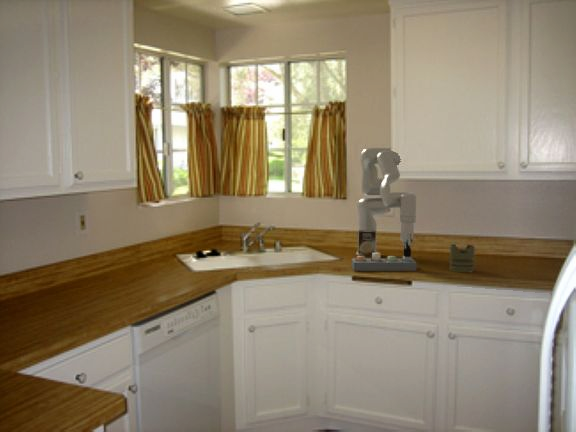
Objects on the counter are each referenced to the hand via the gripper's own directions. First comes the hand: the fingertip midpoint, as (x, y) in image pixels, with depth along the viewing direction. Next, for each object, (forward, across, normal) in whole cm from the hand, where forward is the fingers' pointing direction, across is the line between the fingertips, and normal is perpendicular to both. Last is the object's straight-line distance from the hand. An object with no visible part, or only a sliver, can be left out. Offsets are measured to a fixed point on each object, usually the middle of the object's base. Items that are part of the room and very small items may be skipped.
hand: (407, 256), depth 305 cm
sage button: (+4, 0, -7) cm, 9 cm away
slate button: (+4, 0, 0) cm, 4 cm away
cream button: (+3, 0, -15) cm, 15 cm away
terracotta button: (+4, 0, -22) cm, 23 cm away
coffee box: (+6, -20, -18) cm, 27 cm away
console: (+6, 0, -12) cm, 13 cm away
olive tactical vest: (+6, +5, +26) cm, 27 cm away
